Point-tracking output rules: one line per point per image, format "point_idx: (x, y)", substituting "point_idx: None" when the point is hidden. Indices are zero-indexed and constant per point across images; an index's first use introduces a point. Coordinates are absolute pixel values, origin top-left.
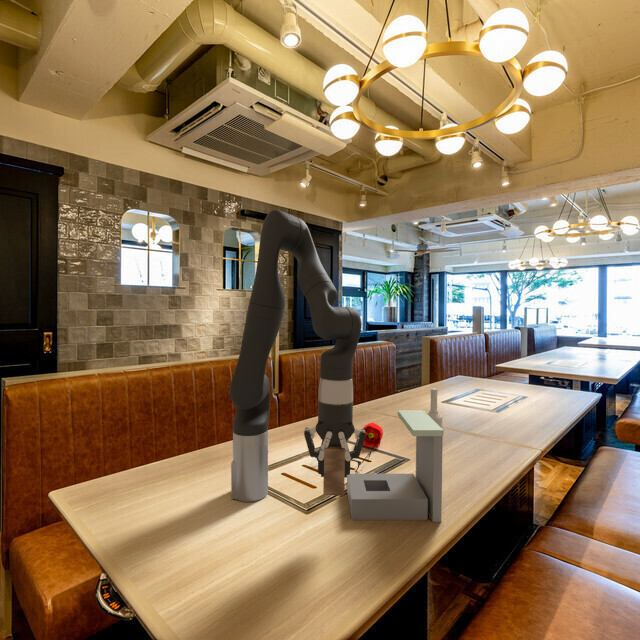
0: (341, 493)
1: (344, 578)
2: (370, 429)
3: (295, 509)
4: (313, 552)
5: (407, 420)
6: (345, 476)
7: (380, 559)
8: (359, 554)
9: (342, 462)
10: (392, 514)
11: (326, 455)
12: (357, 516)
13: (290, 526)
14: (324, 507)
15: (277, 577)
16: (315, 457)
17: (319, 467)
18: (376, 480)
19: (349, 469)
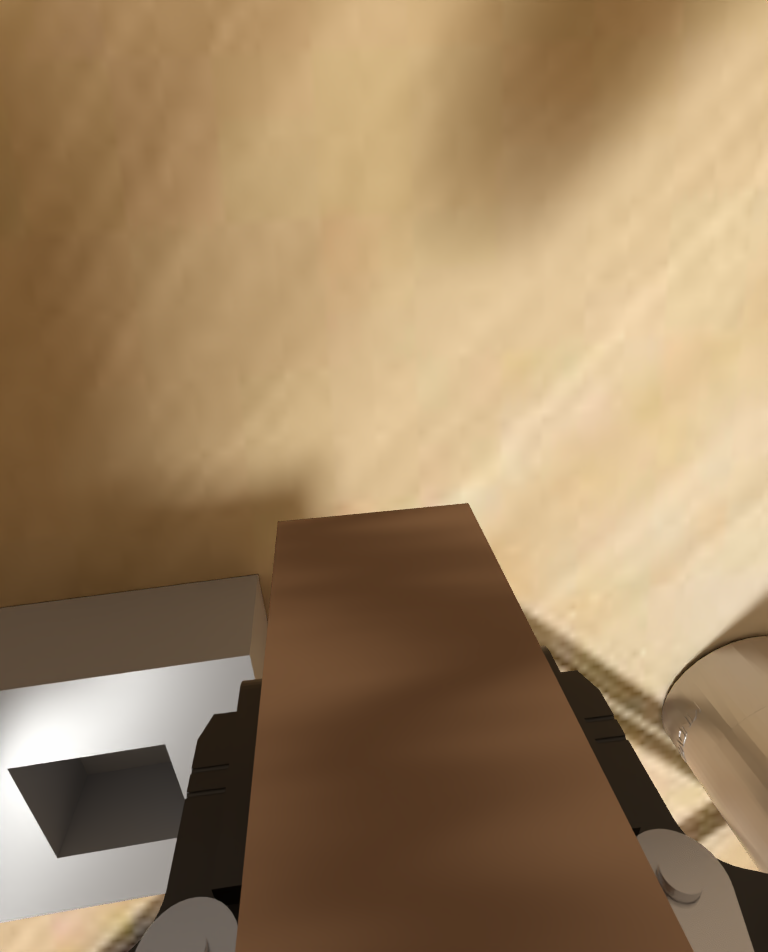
0: (301, 530)
1: (255, 19)
2: None
3: (540, 616)
4: (450, 276)
5: None
6: (258, 683)
7: (48, 236)
8: (184, 277)
9: (288, 843)
10: (20, 624)
11: (638, 942)
12: (224, 590)
13: (567, 486)
14: None
15: (653, 17)
16: (751, 874)
17: (605, 739)
18: (119, 846)
19: (200, 778)
